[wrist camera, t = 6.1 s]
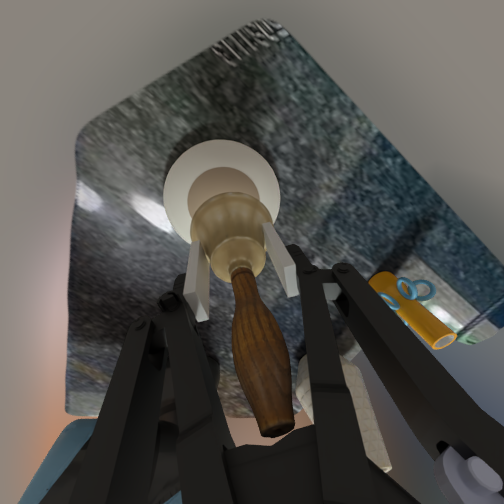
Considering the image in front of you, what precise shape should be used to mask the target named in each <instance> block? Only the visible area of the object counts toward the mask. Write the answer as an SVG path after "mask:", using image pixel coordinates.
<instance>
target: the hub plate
mask: <svg viewBox="0 0 504 504" xmlns="http://www.w3.org/2000/svg"><path fill="white" fill-rule="evenodd" d="M226 192H241V193H245V194H248V195H251V196H253V197H254V198H256V199H258V200H259V201H260V202H262V203H263V204H264V205H265V206H266V208H267V209H268V211H269V212H270V214H271V217H272V220H273V224H274V222H275V220H276V218H277V215H278V211H279V206H280V189H279V184H278V181H277V178H276V176H275V174H274V171H273V169H272V168H271V167H270V165H269V164H268V162H267V161H266V160H265V159H264V158H263V157H262V156H261V155H260V154H259V153H257V152H256V151H255V150H253V149H251V148H250V147H248V146H246V145H244V144H242V143H239V142H236V141H232V140H225V139H215V140H209V141H205V142H202V143H199V144H197V145H195V146H193V147H191V148H189V149H188V150H187V151H185V152H184V153H183V154H182V155H181V156H180V157H179V158H178V159H177V160H176V161H175V163H174V164H173V166H172V167H171V169H170V171H169V173H168V175H167V178H166V181H165V185H164V194H163V199H164V207H165V211H166V214H167V217H168V219H169V221H170V223H171V225H172V227H173V228H174V229H175V231H176V232H177V233H178V234H179V235H180V236H181V238H183V239H184V240H185V241H186V242H188V243H189V244H191V242H192V241H191V236H190V226H191V221H192V218H193V216H194V214H195V212H196V211H197V209H198V208H199V207H200V206H201V205H202V204H203V203H204V202H205V201H206V200H208V199H209V198H211V197H213V196H215V195H218V194H221V193H226Z"/></svg>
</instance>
